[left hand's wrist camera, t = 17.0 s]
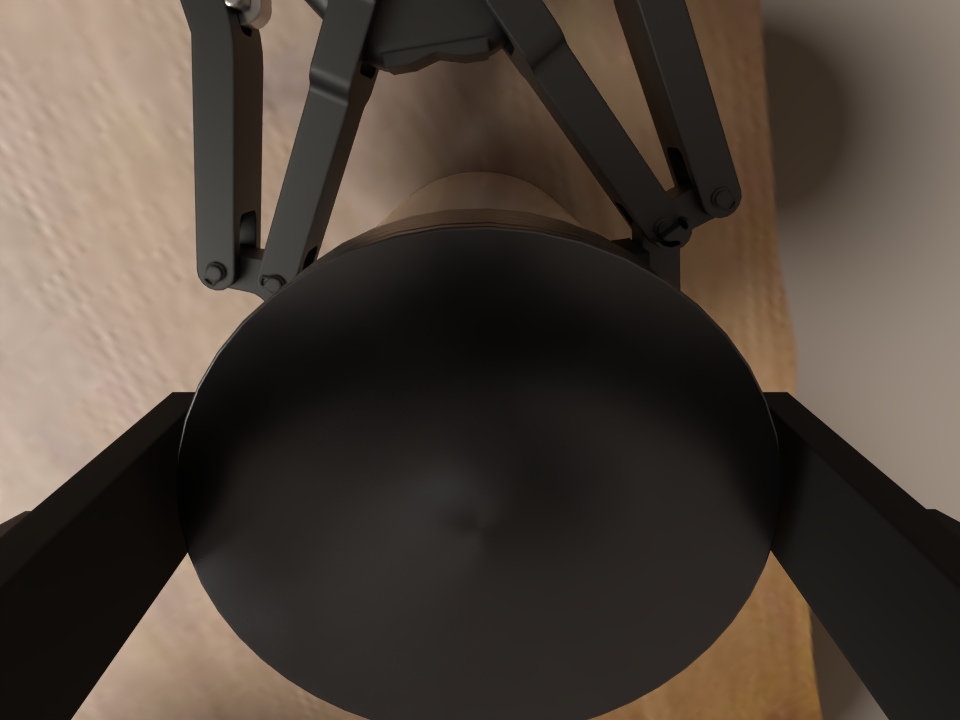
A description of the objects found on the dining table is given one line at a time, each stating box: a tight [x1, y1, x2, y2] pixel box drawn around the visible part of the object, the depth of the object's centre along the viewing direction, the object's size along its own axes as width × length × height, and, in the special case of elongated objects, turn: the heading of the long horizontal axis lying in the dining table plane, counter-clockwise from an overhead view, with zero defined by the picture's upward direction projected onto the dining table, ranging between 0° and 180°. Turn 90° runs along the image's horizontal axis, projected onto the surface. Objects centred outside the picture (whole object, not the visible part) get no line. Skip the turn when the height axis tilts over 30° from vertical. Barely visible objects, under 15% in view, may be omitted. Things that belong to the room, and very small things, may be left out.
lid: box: [176, 208, 782, 720], centre depth 12 cm, size 11×11×2 cm
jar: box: [375, 171, 585, 229], centre depth 19 cm, size 10×10×17 cm
